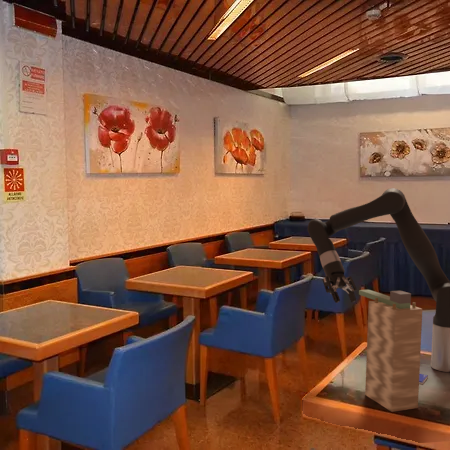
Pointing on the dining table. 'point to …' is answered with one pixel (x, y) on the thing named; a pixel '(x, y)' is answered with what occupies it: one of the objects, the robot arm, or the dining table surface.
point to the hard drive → (422, 378)
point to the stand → (393, 355)
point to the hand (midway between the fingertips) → (346, 301)
